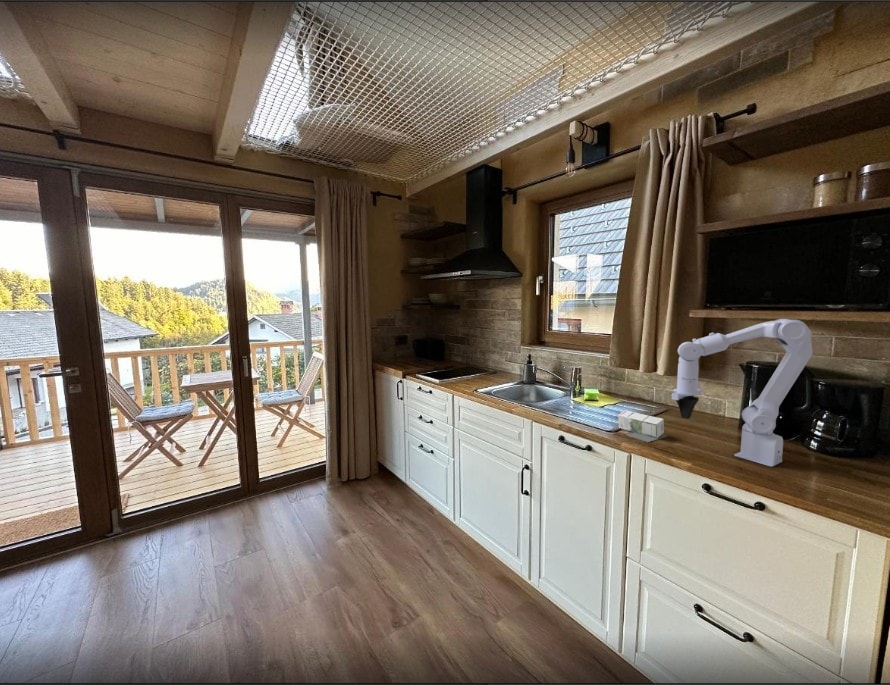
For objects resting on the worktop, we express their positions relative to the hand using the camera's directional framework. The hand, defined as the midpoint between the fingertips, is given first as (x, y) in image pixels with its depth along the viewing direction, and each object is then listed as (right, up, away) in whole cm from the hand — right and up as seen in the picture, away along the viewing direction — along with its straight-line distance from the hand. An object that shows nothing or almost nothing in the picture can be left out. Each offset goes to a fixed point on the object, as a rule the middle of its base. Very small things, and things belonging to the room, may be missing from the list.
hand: (685, 418), depth 121 cm
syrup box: (-3, -6, +9) cm, 11 cm away
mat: (-6, -9, +12) cm, 16 cm away
